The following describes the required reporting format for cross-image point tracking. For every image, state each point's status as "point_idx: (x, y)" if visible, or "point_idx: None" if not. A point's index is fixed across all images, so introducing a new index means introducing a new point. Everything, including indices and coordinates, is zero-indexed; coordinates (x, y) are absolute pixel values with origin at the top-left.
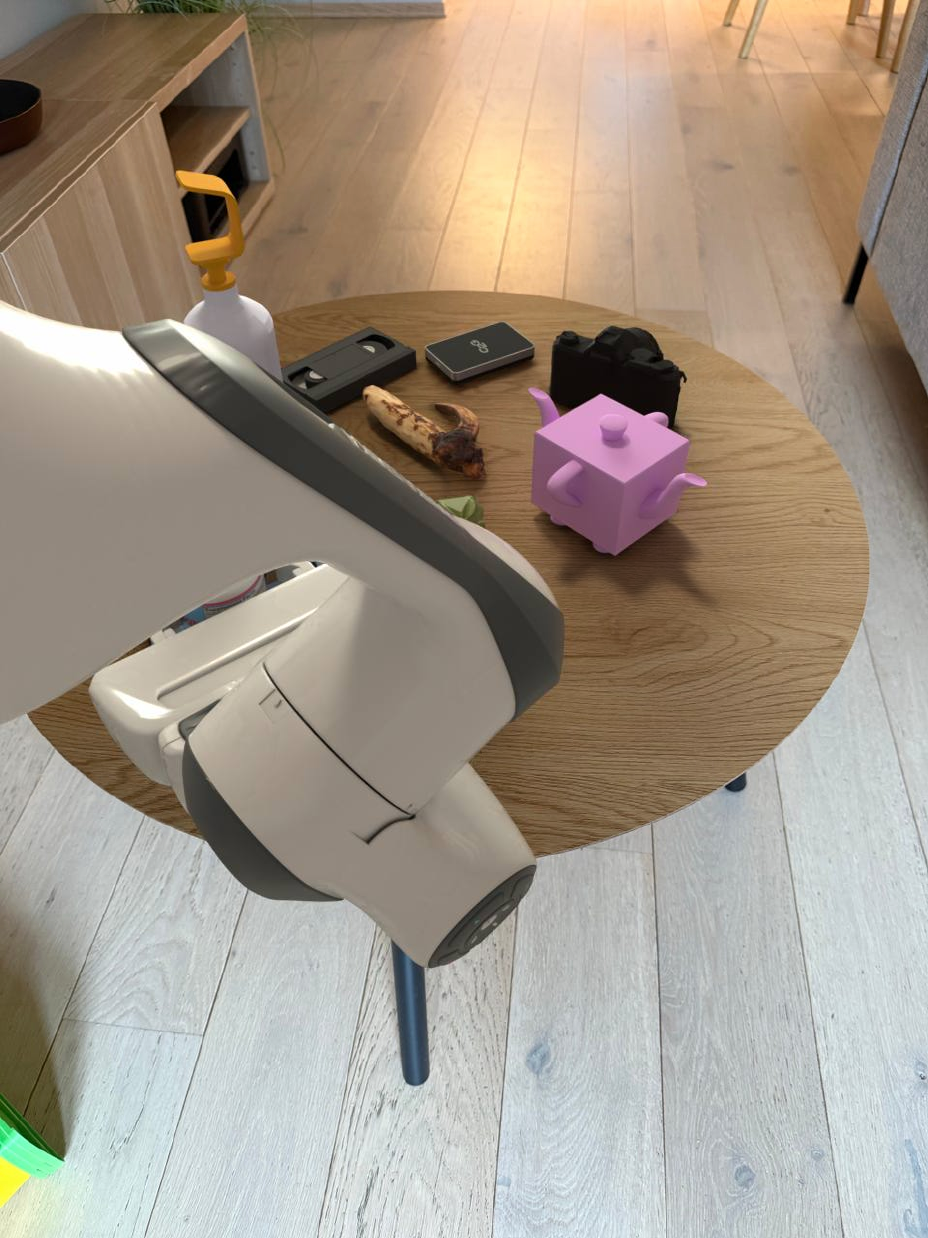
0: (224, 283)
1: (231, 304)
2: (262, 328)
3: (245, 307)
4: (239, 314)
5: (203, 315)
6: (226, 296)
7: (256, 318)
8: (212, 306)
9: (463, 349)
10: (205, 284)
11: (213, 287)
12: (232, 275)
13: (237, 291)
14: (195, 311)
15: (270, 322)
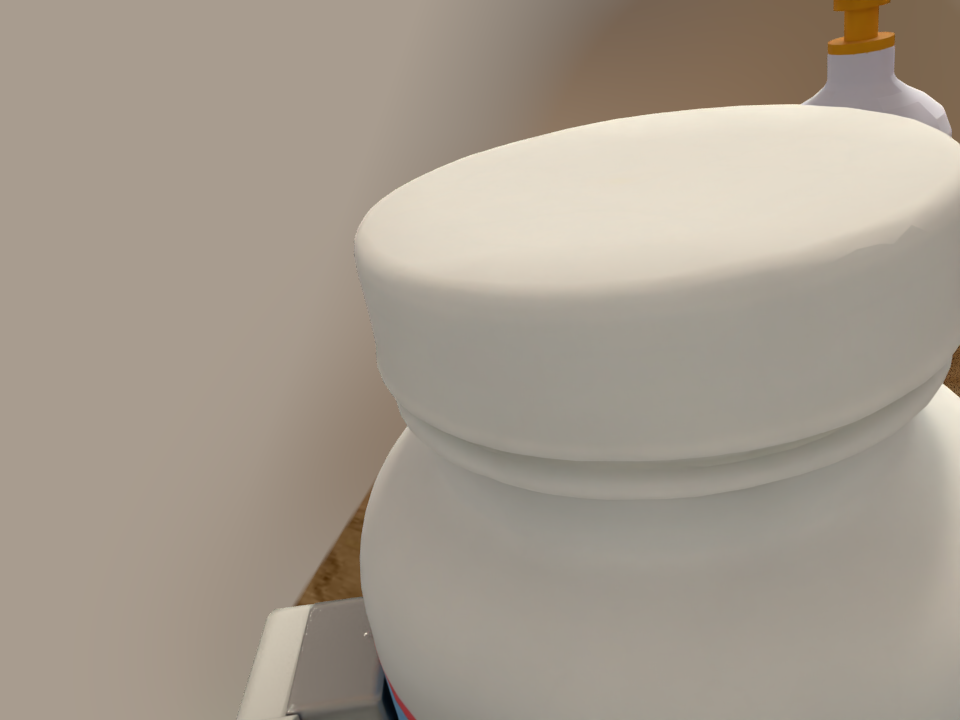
0: (873, 40)
1: (877, 81)
2: (931, 125)
3: (903, 90)
4: (889, 98)
5: (819, 103)
6: (871, 64)
7: (922, 108)
8: (839, 85)
9: None
10: (835, 44)
11: (850, 46)
12: (890, 34)
13: (893, 61)
14: (805, 103)
15: (947, 122)
